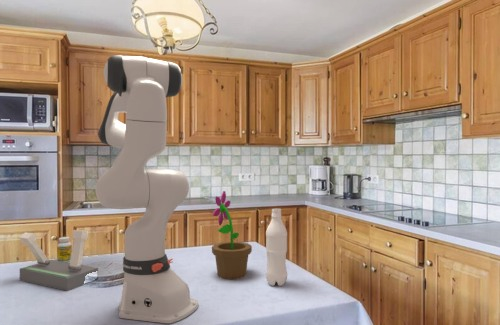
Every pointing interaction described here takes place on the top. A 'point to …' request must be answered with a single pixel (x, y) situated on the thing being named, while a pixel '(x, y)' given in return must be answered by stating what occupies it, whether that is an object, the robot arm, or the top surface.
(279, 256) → the water bottle
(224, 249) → the flowerpot
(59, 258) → the supplement bottle
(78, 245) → the lever
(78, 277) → the switch box
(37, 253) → the on lever
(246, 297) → the top surface
